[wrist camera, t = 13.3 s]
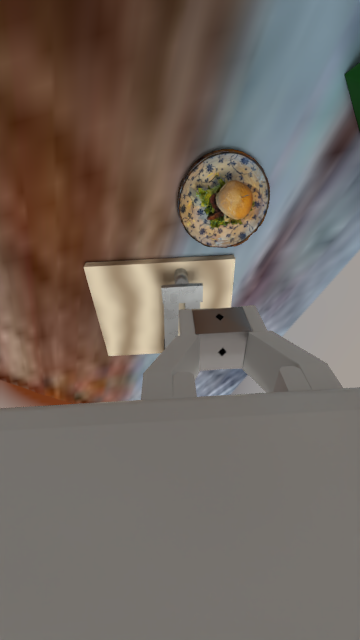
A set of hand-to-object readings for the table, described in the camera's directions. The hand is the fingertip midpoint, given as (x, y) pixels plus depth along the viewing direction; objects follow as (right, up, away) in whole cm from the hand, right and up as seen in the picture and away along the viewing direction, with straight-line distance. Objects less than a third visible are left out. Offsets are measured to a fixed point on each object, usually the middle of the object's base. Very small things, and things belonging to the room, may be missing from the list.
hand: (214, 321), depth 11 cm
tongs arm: (-3, -1, +34) cm, 34 cm away
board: (-4, +2, +34) cm, 35 cm away
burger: (+4, +16, +25) cm, 30 cm away
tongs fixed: (-1, +1, +33) cm, 33 cm away
